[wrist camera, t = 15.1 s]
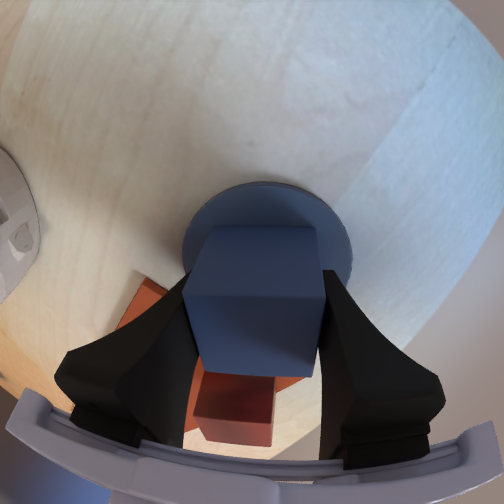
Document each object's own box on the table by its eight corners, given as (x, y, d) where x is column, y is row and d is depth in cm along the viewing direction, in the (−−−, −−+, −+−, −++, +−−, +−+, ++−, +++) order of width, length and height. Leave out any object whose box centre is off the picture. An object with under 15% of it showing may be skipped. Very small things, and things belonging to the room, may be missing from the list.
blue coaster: (360, 183, 11) (363, 188, 11) (338, 322, 15) (339, 328, 15) (172, 184, 12) (167, 188, 12) (199, 317, 16) (197, 323, 16)
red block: (276, 361, 17) (271, 424, 13) (275, 394, 19) (271, 447, 16) (207, 356, 17) (191, 415, 14) (217, 389, 20) (206, 440, 16)
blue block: (316, 226, 12) (326, 297, 8) (309, 304, 14) (312, 378, 10) (212, 225, 12) (180, 292, 9) (223, 301, 15) (204, 371, 11)
